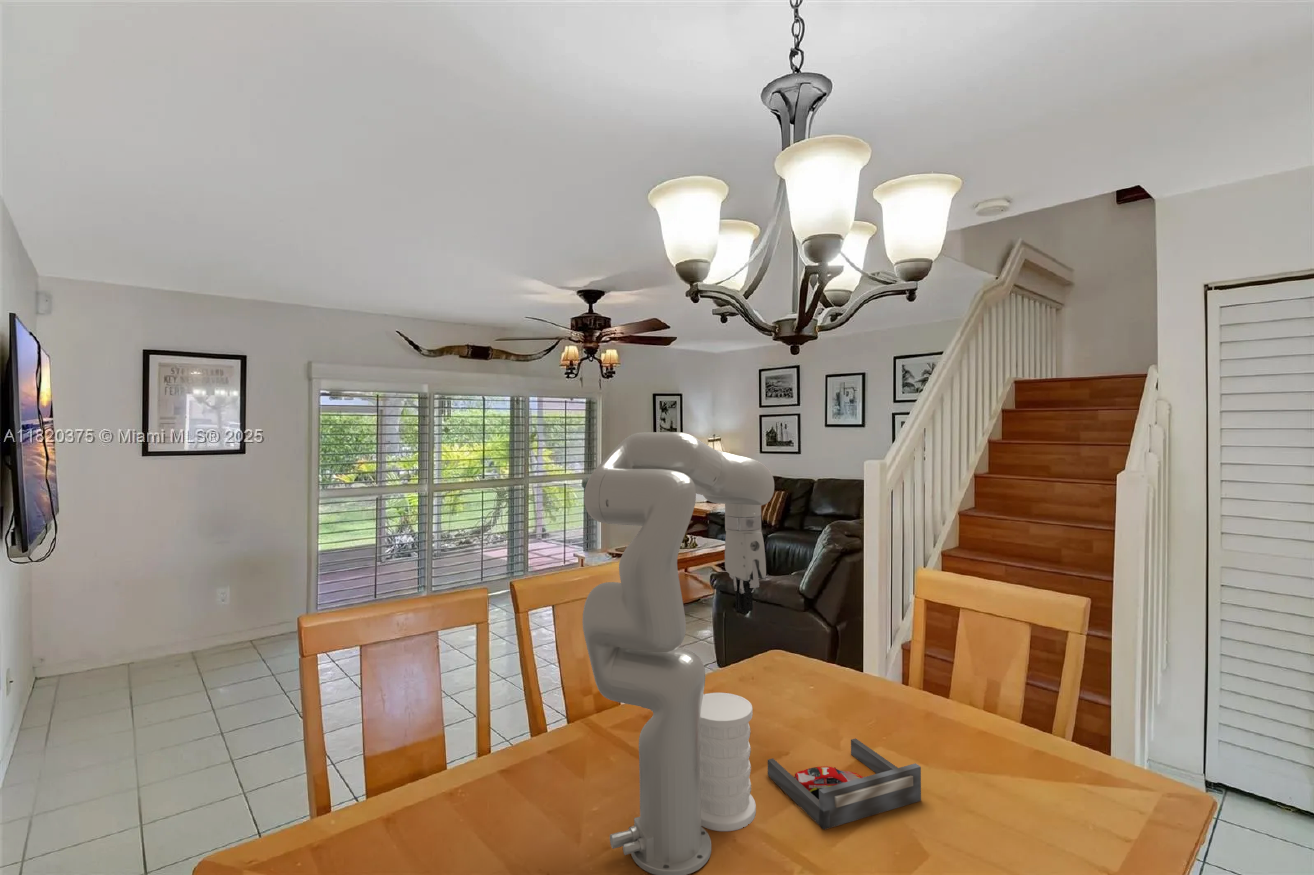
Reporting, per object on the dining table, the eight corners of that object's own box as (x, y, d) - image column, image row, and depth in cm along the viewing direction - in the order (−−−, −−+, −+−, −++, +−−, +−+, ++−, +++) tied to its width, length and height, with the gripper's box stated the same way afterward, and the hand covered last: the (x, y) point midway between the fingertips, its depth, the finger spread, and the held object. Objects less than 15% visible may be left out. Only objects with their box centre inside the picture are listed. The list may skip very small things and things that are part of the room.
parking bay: (825, 831, 101) (825, 795, 101) (767, 775, 118) (767, 743, 117) (923, 802, 108) (922, 768, 108) (855, 753, 125) (855, 723, 125)
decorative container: (677, 798, 111) (676, 698, 110) (735, 784, 115) (734, 687, 114) (705, 838, 100) (704, 727, 99) (768, 821, 104) (767, 714, 104)
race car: (862, 783, 115) (862, 761, 115) (872, 801, 110) (872, 778, 110) (791, 784, 115) (790, 762, 115) (797, 802, 110) (797, 779, 110)
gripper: (777, 527, 125) (778, 618, 126) (741, 517, 139) (742, 599, 140) (745, 530, 123) (746, 623, 123) (711, 520, 137) (712, 603, 137)
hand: (744, 610), depth 131 cm, fingers closed
